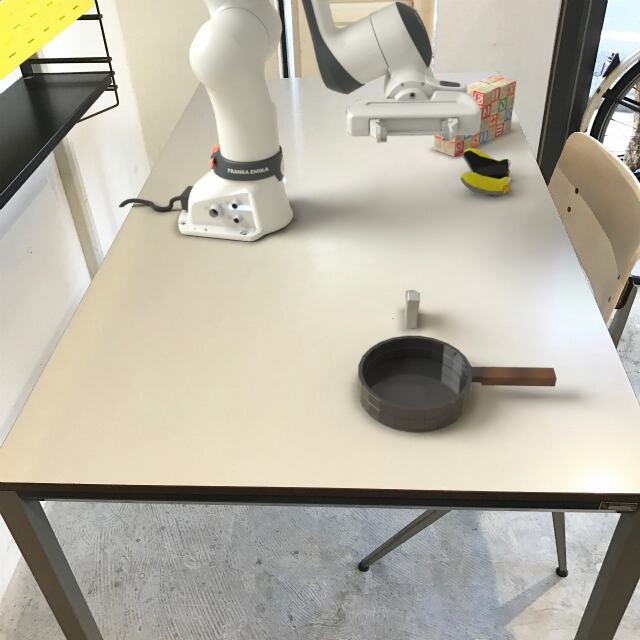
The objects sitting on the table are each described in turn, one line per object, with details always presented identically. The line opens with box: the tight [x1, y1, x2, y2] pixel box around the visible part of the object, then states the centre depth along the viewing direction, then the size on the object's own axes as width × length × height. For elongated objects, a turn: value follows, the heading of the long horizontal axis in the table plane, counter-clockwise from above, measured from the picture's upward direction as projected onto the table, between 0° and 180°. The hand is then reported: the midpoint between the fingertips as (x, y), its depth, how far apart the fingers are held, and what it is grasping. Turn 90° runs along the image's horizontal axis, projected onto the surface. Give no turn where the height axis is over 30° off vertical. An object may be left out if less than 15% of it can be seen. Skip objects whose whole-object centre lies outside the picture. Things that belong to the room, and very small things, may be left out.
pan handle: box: [471, 366, 558, 388], centre depth 93 cm, size 11×2×2 cm, turn 86°
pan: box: [357, 335, 473, 433], centre depth 95 cm, size 15×15×4 cm
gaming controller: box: [460, 147, 512, 198], centre depth 144 cm, size 15×6×10 cm
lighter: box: [404, 288, 421, 330], centre depth 105 cm, size 7×2×8 cm, turn 176°
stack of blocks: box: [433, 75, 517, 157], centre depth 161 cm, size 21×6×12 cm, turn 133°
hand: (414, 137), depth 101 cm, fingers open, 8 cm apart
